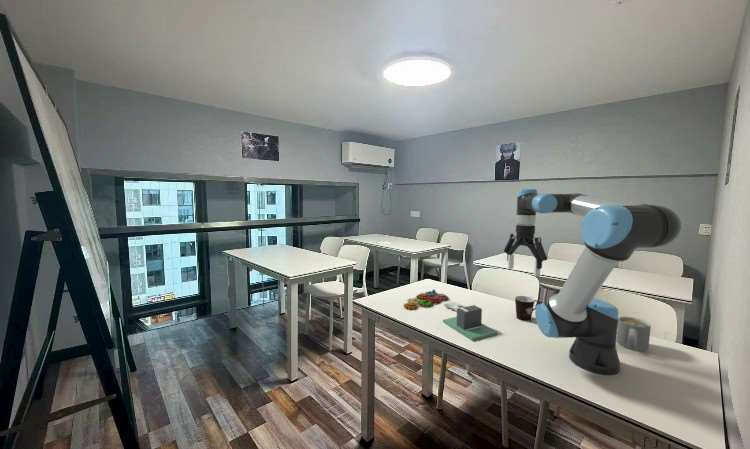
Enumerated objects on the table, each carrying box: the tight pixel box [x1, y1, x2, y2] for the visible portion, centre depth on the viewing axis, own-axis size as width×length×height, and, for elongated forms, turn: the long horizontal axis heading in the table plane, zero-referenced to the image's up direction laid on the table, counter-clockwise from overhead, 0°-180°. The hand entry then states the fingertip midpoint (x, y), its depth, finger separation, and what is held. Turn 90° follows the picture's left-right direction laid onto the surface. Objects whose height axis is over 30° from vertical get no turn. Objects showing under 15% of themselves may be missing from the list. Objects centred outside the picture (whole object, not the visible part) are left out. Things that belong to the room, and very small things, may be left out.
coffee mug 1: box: [514, 295, 540, 322], centre depth 148 cm, size 12×9×10 cm
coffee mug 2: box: [616, 316, 652, 353], centre depth 121 cm, size 13×10×10 cm
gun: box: [443, 300, 468, 313], centre depth 158 cm, size 18×3×10 cm
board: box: [442, 316, 498, 342], centre depth 138 cm, size 20×14×5 cm
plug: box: [456, 304, 483, 330], centre depth 138 cm, size 5×10×8 cm, turn 114°
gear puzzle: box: [403, 289, 451, 310], centre depth 171 cm, size 31×16×4 cm, turn 131°
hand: (523, 272), depth 134 cm, fingers open, 13 cm apart
